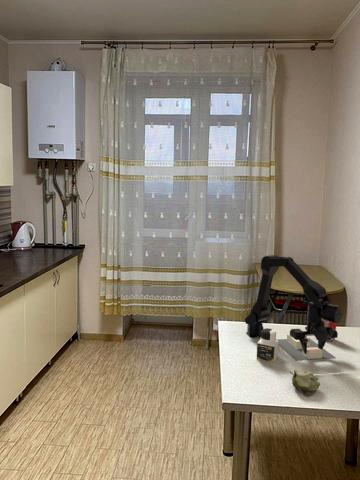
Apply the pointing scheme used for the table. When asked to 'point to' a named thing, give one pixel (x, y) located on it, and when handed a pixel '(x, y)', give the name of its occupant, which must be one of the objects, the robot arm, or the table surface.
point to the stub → (313, 352)
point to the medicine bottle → (267, 345)
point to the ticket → (296, 342)
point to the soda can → (329, 324)
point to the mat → (301, 350)
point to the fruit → (305, 382)
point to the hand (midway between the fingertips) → (312, 353)
